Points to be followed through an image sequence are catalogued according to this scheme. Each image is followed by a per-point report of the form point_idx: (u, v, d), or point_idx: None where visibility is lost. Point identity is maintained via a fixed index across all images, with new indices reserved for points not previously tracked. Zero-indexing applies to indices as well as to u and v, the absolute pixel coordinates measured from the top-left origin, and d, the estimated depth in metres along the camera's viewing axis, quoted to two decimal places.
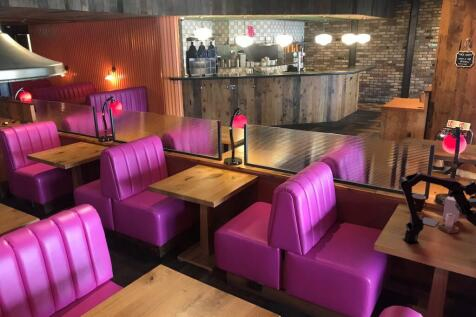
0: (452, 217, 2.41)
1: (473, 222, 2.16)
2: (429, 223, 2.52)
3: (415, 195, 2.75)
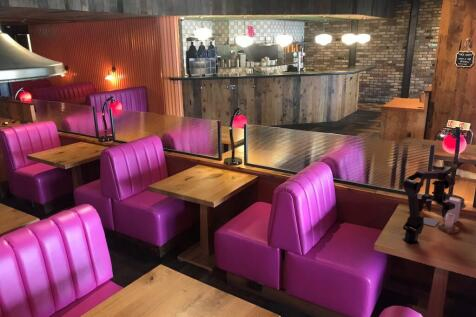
0: (452, 217, 2.41)
1: (444, 213, 2.31)
2: (429, 223, 2.52)
3: None
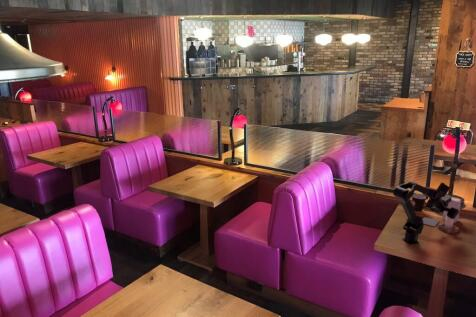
0: None
1: None
2: (429, 223, 2.52)
3: (415, 195, 2.75)
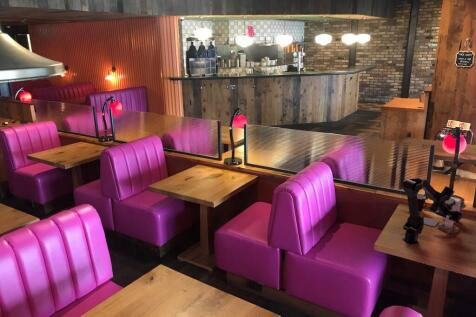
0: None
1: None
2: (429, 223, 2.52)
3: None
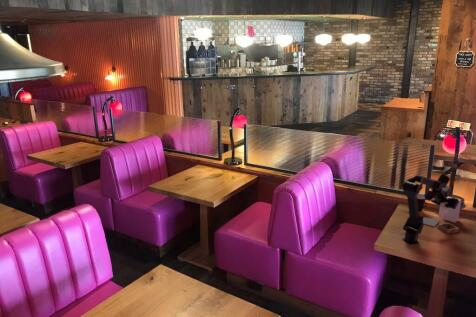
0: None
1: None
2: (429, 223, 2.52)
3: None
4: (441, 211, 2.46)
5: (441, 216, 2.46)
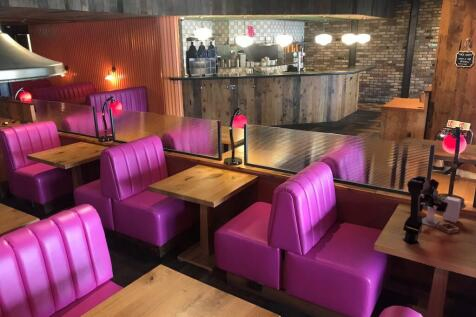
0: (434, 209, 2.51)
1: None
2: (429, 223, 2.52)
3: None
4: (429, 216, 2.53)
5: (429, 220, 2.54)
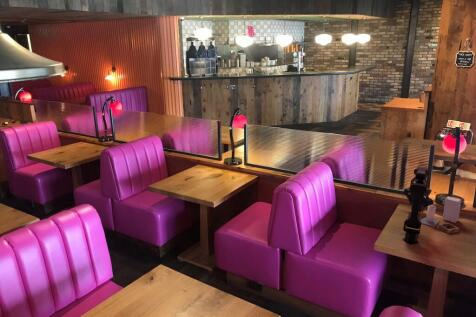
0: (434, 208, 2.51)
1: (423, 208, 2.40)
2: (429, 223, 2.52)
3: None
4: (429, 216, 2.53)
5: (429, 220, 2.54)
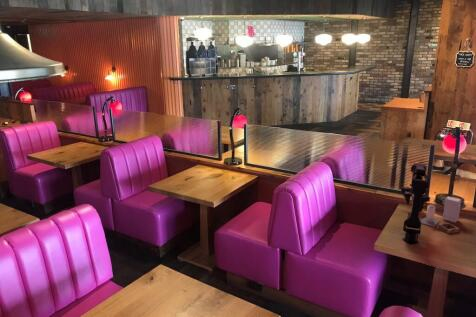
0: (434, 208, 2.51)
1: (419, 205, 2.40)
2: (429, 223, 2.52)
3: None
4: (429, 215, 2.53)
5: (429, 220, 2.54)
